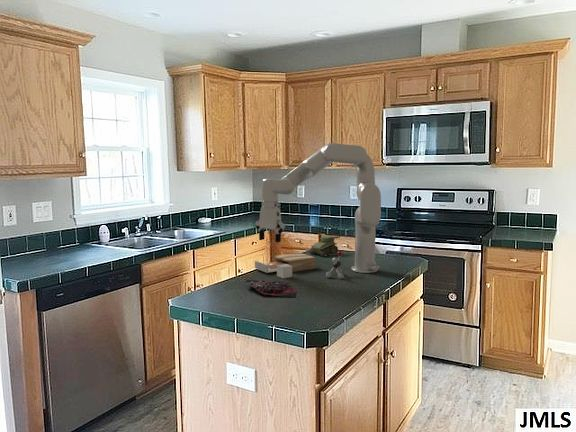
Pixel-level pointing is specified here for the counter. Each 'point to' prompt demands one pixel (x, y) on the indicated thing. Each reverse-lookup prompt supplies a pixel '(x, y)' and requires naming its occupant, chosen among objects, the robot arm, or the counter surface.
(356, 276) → the counter surface
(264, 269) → the tray
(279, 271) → the block
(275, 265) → the peach dome
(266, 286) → the fabric swatch
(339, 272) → the molecular model
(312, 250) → the toy
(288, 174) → the robot arm
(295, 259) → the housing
